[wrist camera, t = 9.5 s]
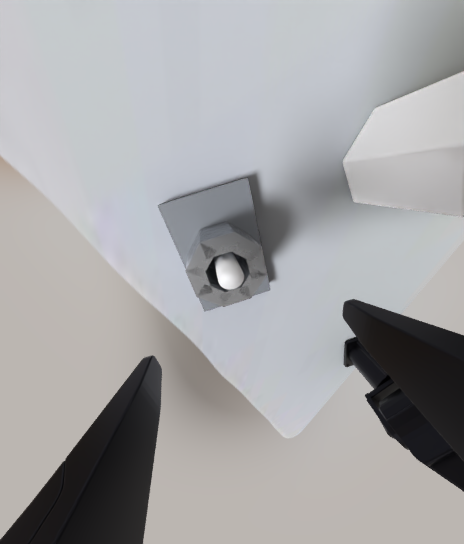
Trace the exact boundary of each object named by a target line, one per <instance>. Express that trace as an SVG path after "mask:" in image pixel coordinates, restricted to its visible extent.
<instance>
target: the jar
mask: <svg viewBox="0 0 464 544" xmlns="http://www.w3.org/2000/svg"><path fill="white" fill-rule="evenodd" d="M342 163H343V166H344V170H345V173H346V177H347V180H348V184H349V188H350V191H351V195H352V198H353V202H355V203H362V204H369V205H377V206H384V207H392V208H399V209H407V210H414V211H422V212H429V213H436V214H444V215H451V216H459V217H464V71H462V72H460V73H458V74H455V75H453V76H450V77H448V78H446V79H443V80H441V81H438V82H436V83H434V84H431V85H429V86H426V87H424V88H422V89H419V90H417V91H414V92H412V93H410V94H407V95H405V96H402V97H400V98H398V99H395V100H393V101H390V102H388V103H386V104H383V105H381V106H378V107H376V108H375V109H374V110H373V112H372V113H371V115H370V117H369V118H368V120H367V122H366V123H365V125H364V126H363V128H362V130H361V131H360V133H359V135H358V136H357V138H356V140H355V141H354V143H353V144H352V146H351V148H350V149H349V151H348V153H347V154H346V156H345V157H344V159H343V161H342Z"/></svg>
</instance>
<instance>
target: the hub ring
mask: <svg viewBox="0 0 464 544" xmlns="http://www.w3.org/2000/svg"><path fill="white" fill-rule="evenodd" d="M228 252H233V253H235V254H237V255H239V256H240V258H239V259H238V263H239V265H240V267H241V269H242V272H243V274H244V280H243V282H242V284H241V285H240V286H239V287H237V288H235V289H231V290H229V289H225V288H223V287H221V286H220V284H219V282H218V278H217V273H216V269H213V268H211V267H209V264H210V263H211V261H212V259H213V257H215V256H218V255H222V254H225V253H228ZM186 273H187V276H188V278H189V280H190V282H191V285H192V287H193V289H194V292H195V294H196V296H197V297H198V298H201V299H204V300H206V301H209V302H212V303H214V304H217V305H220V306H223V307H225V306H228V305H231V304H234V303H237V302H240V301H244V300H247V299H250V298H252V296H253V295H254V293H255V292H256V290H257V289H258V287H259V286H260V285H261V283H262V282H263V280H264V279H265V277H266V276H267V271H266V266H265V261H264V255H263V250H262V247H261V246H260V245H259V244H258V243H257V242H256V241H255V240H254V238H253V237H252V236H251V235H250V234H248V233H247V232H245V231H243V230H241V229H239V228H238V227H236V226H234V225H232V224H230V223H229V222H227V221H226V222H222V223H219V224H216V225H213V226H209V227H206V228H203V229H200V230H199V232H198V234H197V236H196V238H195V240H194V242H193V244H192V246H191V248H190V250H189V252H188V257H187V264H186Z"/></svg>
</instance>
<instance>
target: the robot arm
mask: <svg viewBox="0 0 464 544" xmlns="http://www.w3.org/2000/svg"><path fill="white" fill-rule="evenodd" d="M343 318H344V320H345V321H346V323H347V324H348V325H349V327H350V328H351V330H352V331H353V332H354V334H355V335H356V336H357V338H355V339H352V340H349V341H347V342H345V348H344V365H345V367H349V366H352V365H354V366H355V367H356V368H357V369H358V370H359V372H360V373H361V374H362V375H363V376H364V377H365V379H366V380H367V381H368V382H369V383H370V385H371V386H372V387H373V388H374V390H373V391H371V392H370V393H367V394H366V395H365V397H366V398H367V402H368V403H369V404H370V406H371V407H372V409H373V410H374V412H375V413H376V415H377V416H378V418H379V419H380V421H381V423H382V425H383V427H384V428H385V430H386V432H387V434H388V435H389V436H390V437H392V438H394V439H396V440H397V441H398V442H399V443H400V444H401V445H402V446H403V447H404V448H406V449H407V450H410V452H411V453H412V454H413V456H415V457H416V459H418V460H419V461H420V462H422V463H423V464H425V465H426V466H428V467H429V468H431V469H432V470H433V471H435V472H436V473H438V474H439V475H441V476H442V477H444V478H445V479H447V480H448V481H449V482H451V483H453V484H454V485H455V486H457V487H458V488H460V489H461V490H462V491H464V335H461V334H458V333H455V332H452V331H448V330H446V329H443V328H440V327H436V326H434V325H430V324H428V323H424V322H422V321H418V320H415V319H412V318H409V317H406V316H403V315H400V314H397V313H394V312H391V311H388V310H385V309H382V308H379V307H376V306H373V305H370V304H367V303H364V302H361V301H358V300H355V299H352V300H348V301H345V302H344V306H343ZM161 378H162V369H161V366H160V364H159V363H158V361H157V359H156V358H155V356H148V357H145V358H143V359H142V360H141V362H140V363H139V364H138V366H137V367H136V368H135V369H134V371H133V372H132V373H131V375H130V376H129V377H128V379H127V380H126V381H125V382H124V384H123V385H122V386H121V388H120V389H119V390H118V392H117V393H116V394H115V395H114V397H113V398H112V399H111V401H110V402H109V403H108V404H107V406H106V407H105V408H104V410H103V411H102V412H101V414H100V415H99V416H98V417H97V419H96V420H95V421H94V423H93V424H92V425H91V427H90V428H89V429H88V430H87V432H86V433H85V434H84V436H83V437H82V438H81V439H80V441H79V442H78V443H77V445H76V446H75V447H74V448H73V450H72V451H71V452H70V454H69V455H68V456H67V458H66V460H65V461H64V462H63V463H62V464H61V465H60V466H59V468H58V469H57V470H56V472H55V473H54V474H53V476H52V477H51V478H50V479H49V481H48V482H47V483H46V484H45V486H44V487H43V488H42V489H41V491H40V492H39V493H38V495H37V496H36V497H35V498H34V500H33V501H32V502H31V503H30V505H29V506H28V507H27V508H26V509H25V511H24V512H23V513H22V514H21V515H20V517H19V518H18V519H17V520H16V522H15V523H14V524H13V525H12V527H11V528H10V529H9V530H8V531H7V532H6V534H5V535H4V536H3V537H2V538H1V539H0V544H143V538H144V531H145V523H146V516H147V508H148V500H149V493H150V485H151V478H152V470H153V463H154V454H155V448H156V440H157V432H158V425H159V417H160V407H161V380H162V379H161Z"/></svg>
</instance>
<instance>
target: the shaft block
mask: <svg viewBox="0 0 464 544" xmlns="http://www.w3.org/2000/svg"><path fill="white" fill-rule="evenodd" d="M158 208H159V210H160V212H161V215H162V217H163V219H164V221H165V223H166V226H167V228H168V230H169V232H170V235H171V237H172V239H173V241H174V244H175V246H176V248H177V250H178V253H179V255H180V257H181V259H182V262H183V264H184V266H185V268H186V264H187V257H188V252H189V250H190V248H191V246H192V244H193V242H194V240H195V238H196V236H197V234H198V232H199V230H200V229H203V228H206V227H209V226H213V225H216V224H219V223H222V222H226V221H227V222H229V223H230V224H232V225H234V226H236V227H238V228H239V229H241V230H243V231H245V232H247V233H248V234H250V235H251V236H252V237H253V238H254V240H255V241H256V242H257V243H258V244H259V245H260V246H261V247H262V245H261V240H260V235H259V230H258V225H257V220H256V215H255V210H254V206H253V201H252V196H251V191H250V186H249V181H248V178H243V179H240V180H237V181H233V182H230V183H227V184H224V185H220V186H217V187H214V188H211V189H207V190H204V191H201V192H198V193H195V194H191V195H188V196H185V197H182V198H178V199H175V200H172V201H169V202H165V203H162V204H160V205H158ZM239 258H240V256H239V255H237V254H235V253H233V252H228V253H225V254H222V255H218V256H215V257H213V259H212V261H211V263H210V264H209V267H211V268H213V269H216V273H217V278H218V282H219V284H220V286H221V287H223V288H225V289H229V290H231V289H235V288H237V287H239V286H240V285H241V284H242V282H243V280H244V274H243V272H242V269H241V267H240V265H239V263H238V259H239ZM264 261H265V260H264ZM265 266H266V265H265ZM266 271H267V270H266ZM269 290H270V285H269V280H268V275H267V276H266V277H265V279H264V280H263V282H262V283H261V285H260V286H259V287H258V289H257V290H256V292H255V293H254V295H257V294H260V293H263V292H266V291H269ZM254 295H253V296H254ZM199 300H200V302H201V304H202V306H203V309H204V311H208V310H211V309H214V308H217V307H220V305H217V304H214V303H212V302H209V301H206V300H204V299H201V298H199Z"/></svg>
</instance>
